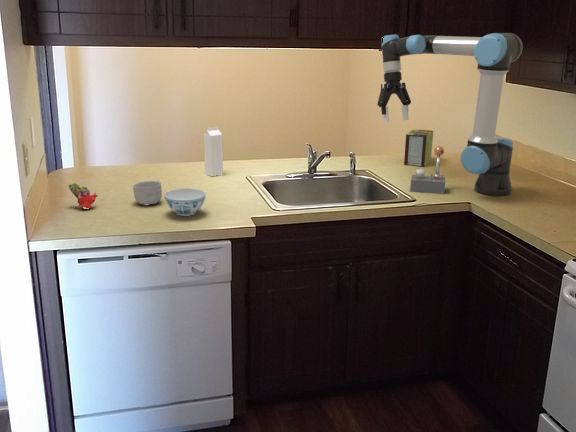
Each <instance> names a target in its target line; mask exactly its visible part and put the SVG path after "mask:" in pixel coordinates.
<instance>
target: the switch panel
mask: <svg viewBox="0 0 576 432" xmlns="http://www.w3.org/2000/svg"><path fill="white" fill-rule="evenodd" d="M445 188H446V176H444V173H441V174H440V179H436V178H434V173H433V172H431V173H430V175H424V176H416V174H411V179H410V187H409V192H411V193H412V192H413V193H424V194H437V195H439V194H440V195H444V194H445V190H446V189H445Z"/></svg>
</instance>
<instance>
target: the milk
mask: <svg viewBox="0 0 576 432" xmlns="http://www.w3.org/2000/svg"><path fill="white" fill-rule="evenodd" d="M206 128H207V129H206V131H205V132H204V134H203V141H204V142H203V144H204V145H203V146H204V175H205V174H207V175H206V176H208V175H210V176H209V177H211V176H215V177H217V176H216V175H221V174H223V175H224V168H223V167H224V164H223V163H224V162H223V161H224V159H223V158H224V157H223V134H222V132H221V131H220V129H219V126H210V127H206ZM221 176H222V175H221Z"/></svg>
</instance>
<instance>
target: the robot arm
mask: <svg viewBox="0 0 576 432" xmlns="http://www.w3.org/2000/svg"><path fill="white" fill-rule="evenodd" d="M383 37H384V38H383ZM383 37H382V38H383V43H382V42H381V52H382V53H381V55H382V64H383V72H384V74H383V80H384V82H385V83H381V84H380V93H379V96H378V100H377V103H376V104H377V107H379V108H380V109H381V115H382V116H381V117H382V123H389V121H390V120H389V106H387V105H388V103H389V101H390V99H391V96H392V95H394V94H395V95H396V96H397V97H398V100H399V101H400V102H401V104H402V105H401V114H402V121H409V105H411V103H412V101H411V97H410V95H409V92H408V90H407V87H406V86H407V85H406V83H405V82H401V81H402V72H401V70H402V63H401V57H405V56H411V55H430V54H431V55H447V56H448V55H450V56H451V55H452V56H467V57H474V59H475V60H476V63H477V68H476V69H477V71H478V72H479V74H480V77H479V83H478V89H477V90H478V92H477V98H476V106H475V114H474V120H473V127H472V128H473V129H472V134H471V135H470V136H469V137H468V138H467V143H466V144H467V145H466V147H464V149H463V150H462V151H461V153H460V162H461V166H462V167H463V168H464V169H465V171H467V172H468V173H469V174H473V175H478V177H477V178H476V180H475V182H474V187H473V190H474V192H476V193H478V194H482V195H487V196H494V197H504V196H509V195H511V194H512V189H513V187H512V186H513V185H512V181H511V177H510V169H511V163H512V157H513V151H514V141H513V140H512V139H510V138H506V137H498V136H496V131H497V124H498V120H499V119H498V117H499V111H500V102H501V97H502V90H503V84H504V77H505V75H506V74H507V73H508V72H510V66H511V64H512V63H513V62H516V61H517V60H518V59H519V57H520V56H521V55H522V52H523V47H524V46H523V41H522V39H521V38H520V37H519V36H518V35H517V34H515V33H511V32H499V33H498V32H493V33H487V34H485V35H484V36H482V37H481V36H452V35H448V36H447V35H431V34H429V35H422V34H415V35H414V34H412V35H409V36H406V37H399V35H398V34H388V35H384V36H383ZM394 44H395V45H394Z"/></svg>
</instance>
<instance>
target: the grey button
mask: <svg viewBox="0 0 576 432" xmlns="http://www.w3.org/2000/svg"><path fill="white" fill-rule="evenodd" d="M425 171H426V170H425V169H423V168H416V170H415V175H416V176H426V173H425Z"/></svg>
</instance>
